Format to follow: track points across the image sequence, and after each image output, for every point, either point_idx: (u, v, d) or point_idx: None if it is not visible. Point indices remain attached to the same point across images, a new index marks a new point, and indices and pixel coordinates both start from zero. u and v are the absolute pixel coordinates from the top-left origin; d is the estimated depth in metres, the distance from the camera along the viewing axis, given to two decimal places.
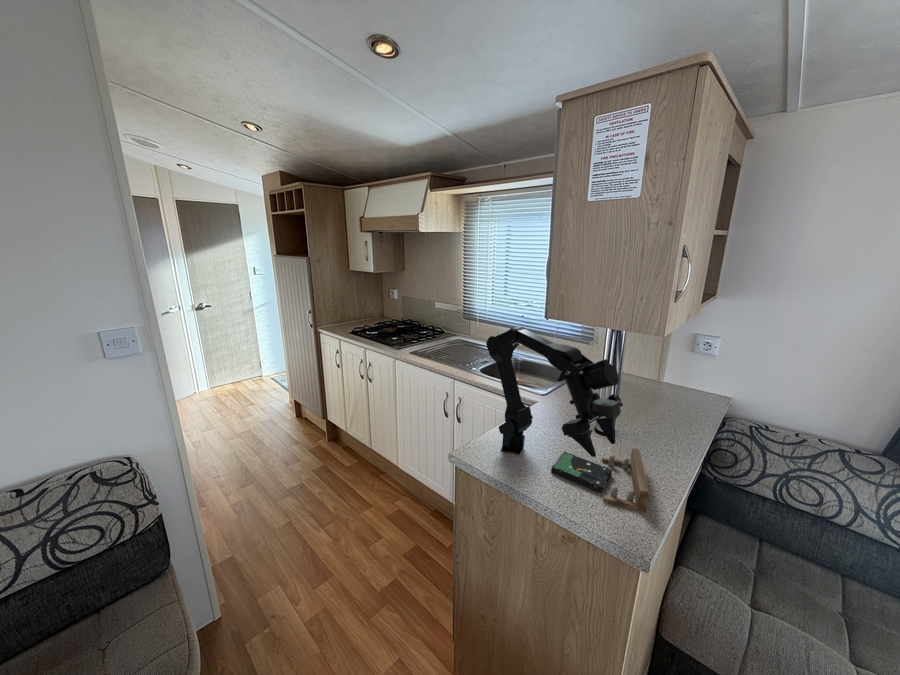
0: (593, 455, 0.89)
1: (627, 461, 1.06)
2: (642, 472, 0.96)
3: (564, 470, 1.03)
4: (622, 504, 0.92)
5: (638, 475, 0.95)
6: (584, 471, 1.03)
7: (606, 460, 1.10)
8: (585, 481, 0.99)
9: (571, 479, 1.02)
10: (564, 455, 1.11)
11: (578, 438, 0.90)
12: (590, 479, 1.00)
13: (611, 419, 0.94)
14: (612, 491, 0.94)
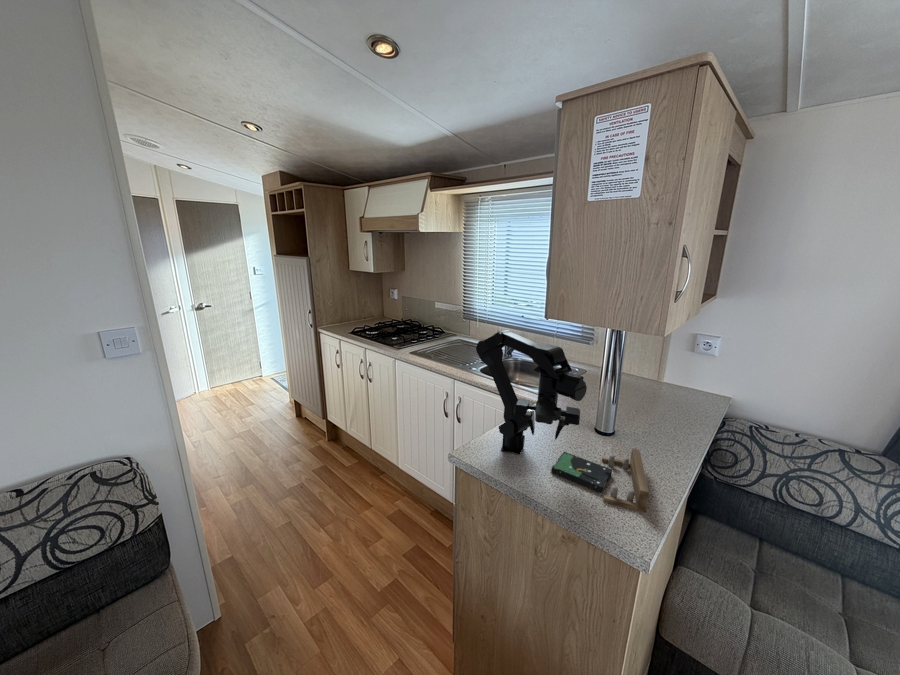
0: None
1: (627, 461, 1.06)
2: (642, 472, 0.96)
3: (564, 470, 1.03)
4: (622, 504, 0.92)
5: (638, 475, 0.95)
6: (584, 471, 1.03)
7: (606, 460, 1.10)
8: (585, 481, 0.99)
9: (571, 479, 1.02)
10: (564, 455, 1.11)
11: None
12: (590, 479, 1.00)
13: (558, 422, 1.02)
14: (612, 491, 0.94)
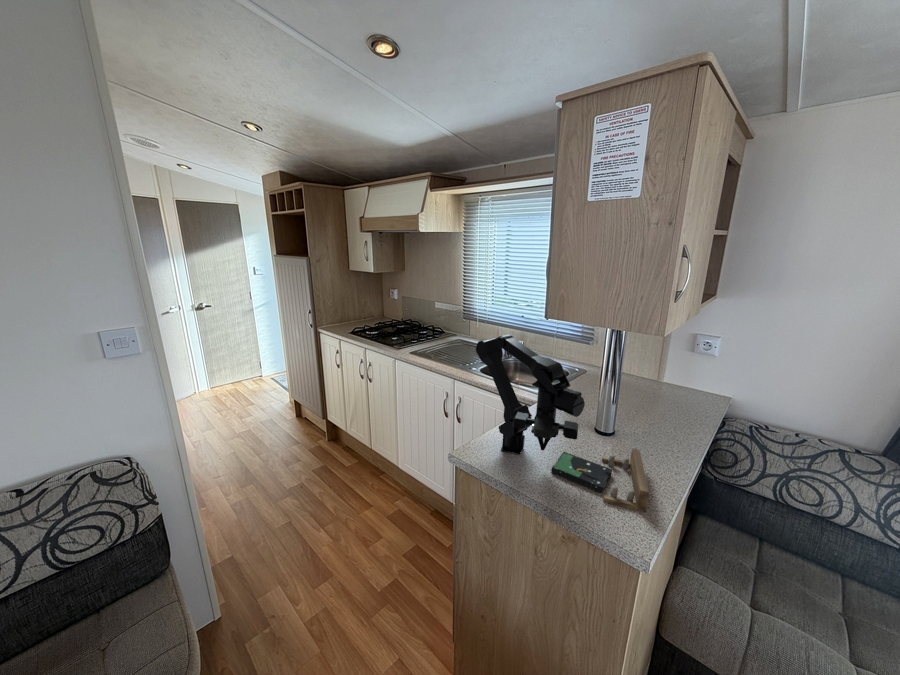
0: None
1: (627, 461, 1.06)
2: (642, 472, 0.96)
3: (564, 470, 1.03)
4: (622, 504, 0.92)
5: (638, 475, 0.95)
6: (584, 471, 1.03)
7: (606, 460, 1.10)
8: (586, 481, 0.99)
9: (571, 479, 1.02)
10: (564, 455, 1.11)
11: None
12: (590, 479, 1.00)
13: None
14: (612, 491, 0.94)
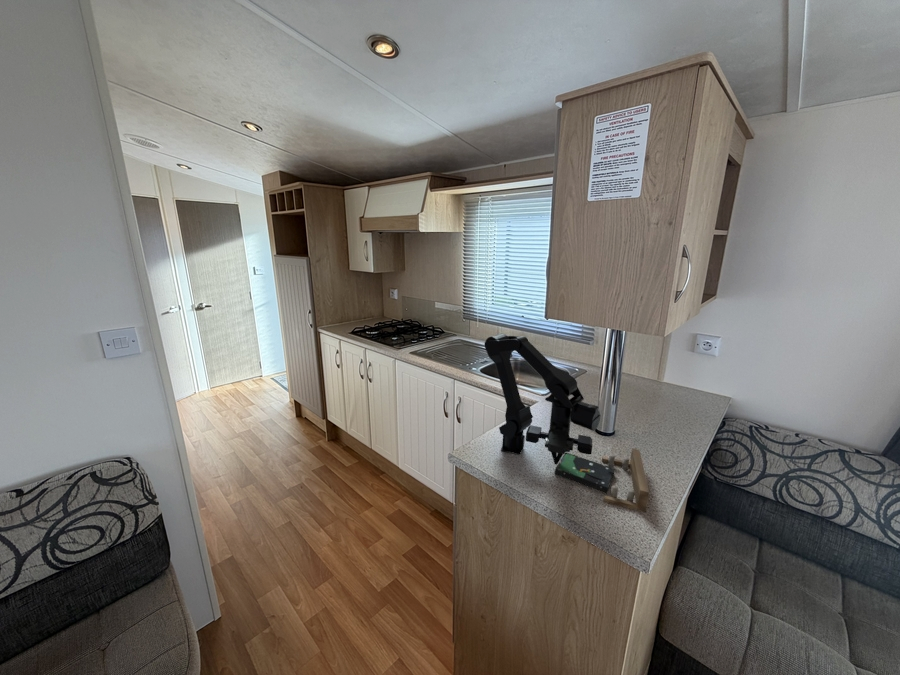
0: None
1: (627, 461, 1.06)
2: (642, 472, 0.96)
3: (568, 472, 1.03)
4: (622, 504, 0.92)
5: (638, 475, 0.95)
6: (588, 472, 1.03)
7: (606, 460, 1.10)
8: (590, 482, 0.99)
9: (576, 480, 1.01)
10: (566, 456, 1.10)
11: None
12: (594, 480, 1.00)
13: None
14: (612, 491, 0.94)
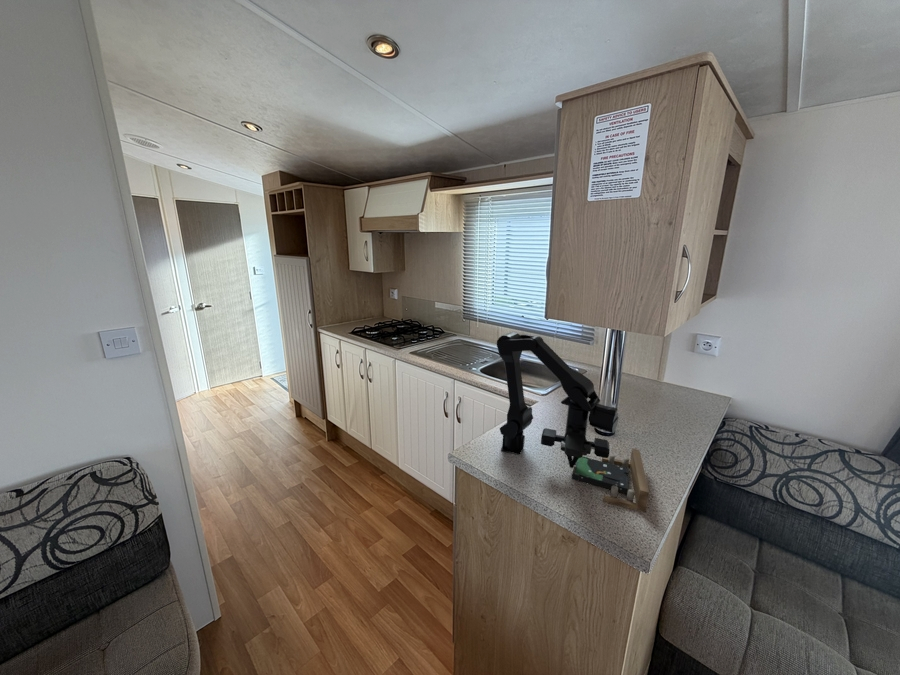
0: None
1: (627, 461, 1.06)
2: (642, 472, 0.96)
3: (586, 475, 1.01)
4: (622, 504, 0.92)
5: (638, 475, 0.95)
6: (604, 474, 1.02)
7: (606, 460, 1.10)
8: (609, 484, 0.98)
9: (594, 484, 1.00)
10: (579, 459, 1.09)
11: None
12: (613, 482, 0.99)
13: None
14: (612, 491, 0.94)
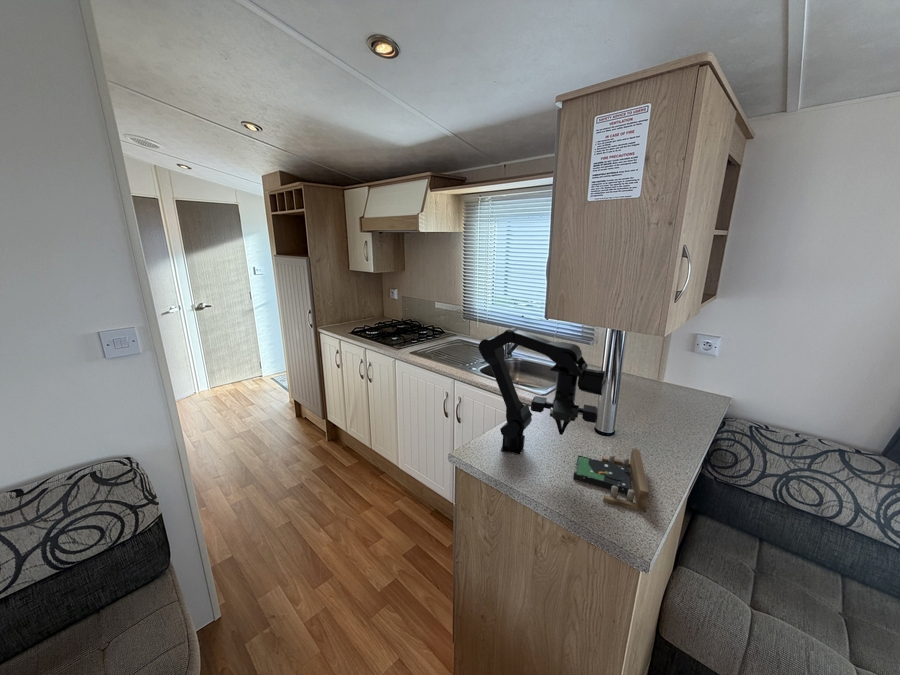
0: None
1: (627, 461, 1.06)
2: (642, 472, 0.96)
3: (587, 475, 1.01)
4: (622, 504, 0.92)
5: (638, 475, 0.95)
6: (606, 474, 1.02)
7: (606, 460, 1.10)
8: (611, 484, 0.98)
9: (596, 484, 1.00)
10: (580, 459, 1.09)
11: None
12: (614, 482, 0.99)
13: None
14: (612, 491, 0.94)
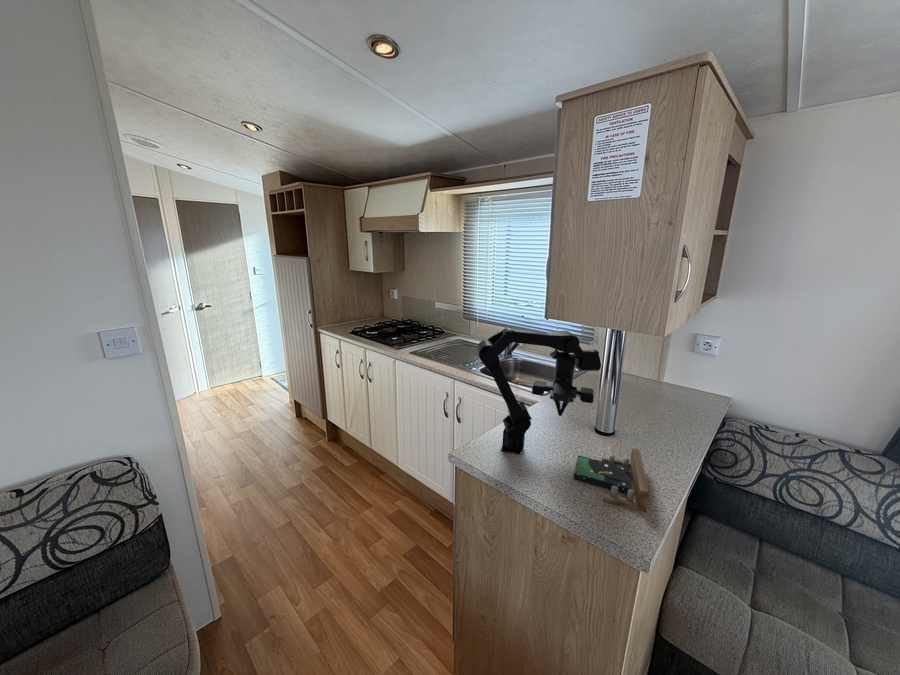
0: None
1: (627, 461, 1.06)
2: (642, 472, 0.96)
3: (588, 475, 1.01)
4: (622, 504, 0.92)
5: (638, 475, 0.95)
6: (606, 474, 1.02)
7: (606, 460, 1.10)
8: (612, 484, 0.98)
9: (596, 484, 1.00)
10: (580, 459, 1.09)
11: None
12: (615, 481, 0.99)
13: None
14: (612, 491, 0.94)
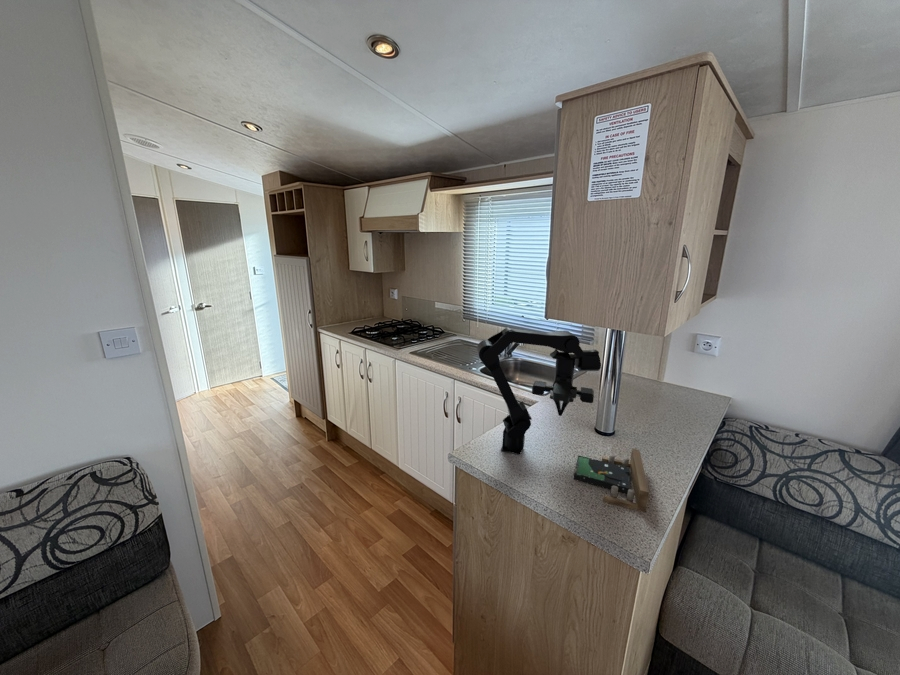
0: None
1: (627, 461, 1.06)
2: (642, 472, 0.96)
3: (588, 476, 1.01)
4: (622, 504, 0.92)
5: (638, 475, 0.95)
6: (606, 474, 1.02)
7: (606, 460, 1.10)
8: (612, 484, 0.98)
9: (596, 484, 1.00)
10: (580, 459, 1.09)
11: None
12: (615, 481, 0.99)
13: None
14: (612, 491, 0.94)
